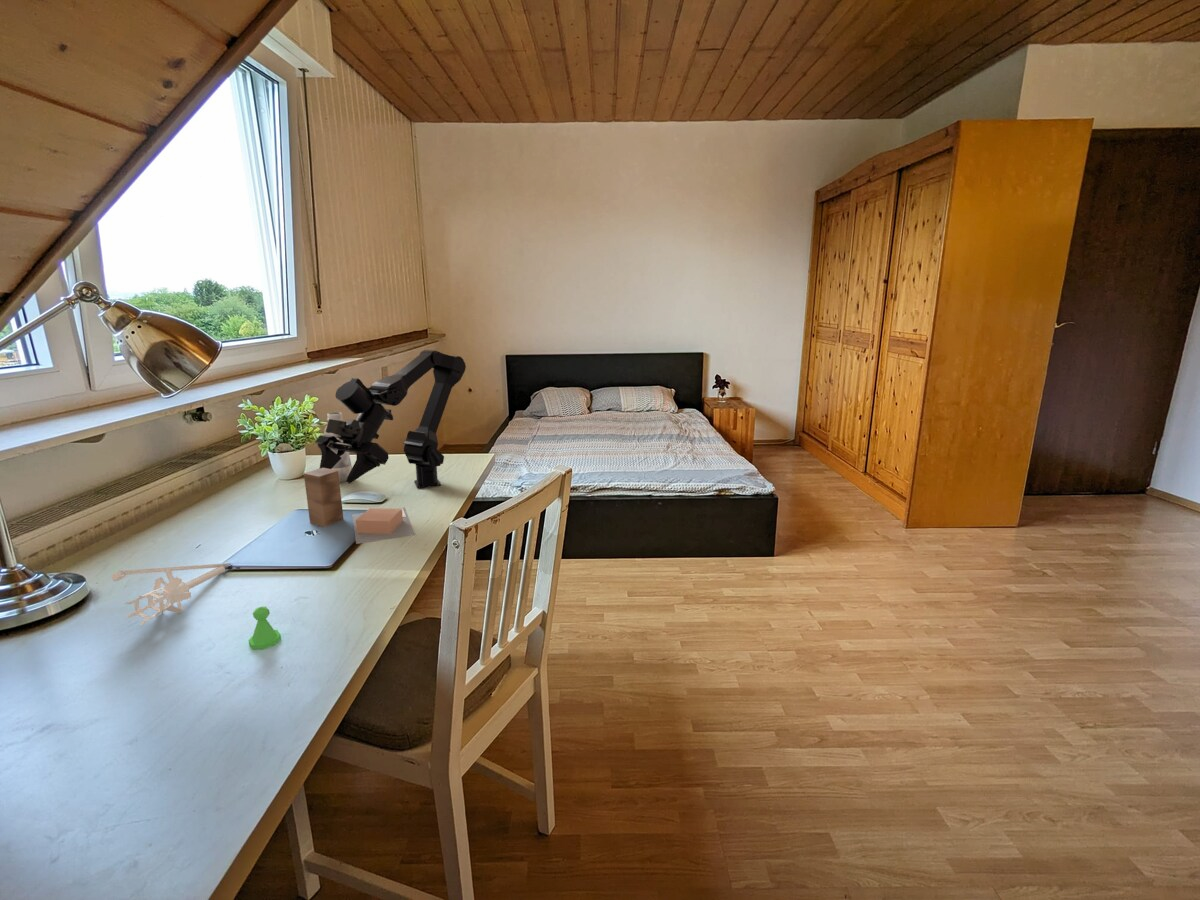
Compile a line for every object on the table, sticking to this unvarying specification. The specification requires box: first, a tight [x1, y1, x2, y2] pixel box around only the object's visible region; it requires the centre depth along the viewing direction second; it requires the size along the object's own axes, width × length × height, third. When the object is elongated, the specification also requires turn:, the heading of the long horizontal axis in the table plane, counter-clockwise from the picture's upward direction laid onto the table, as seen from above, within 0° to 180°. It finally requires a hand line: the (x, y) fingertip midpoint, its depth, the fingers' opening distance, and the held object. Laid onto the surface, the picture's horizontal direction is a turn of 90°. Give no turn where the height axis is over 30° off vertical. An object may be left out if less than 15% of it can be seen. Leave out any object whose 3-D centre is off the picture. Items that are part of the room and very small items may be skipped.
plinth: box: [356, 507, 403, 534], centre depth 126 cm, size 8×8×3 cm
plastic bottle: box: [323, 411, 353, 483], centre depth 157 cm, size 6×7×20 cm
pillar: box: [303, 467, 344, 528], centre depth 128 cm, size 5×5×13 cm
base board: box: [351, 507, 416, 545], centre depth 128 cm, size 18×12×1 cm, turn 26°
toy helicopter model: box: [110, 562, 232, 627], centre depth 97 cm, size 6×9×25 cm
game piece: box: [248, 606, 282, 650], centre depth 85 cm, size 4×4×6 cm
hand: (333, 479), depth 130 cm, fingers open, 9 cm apart
